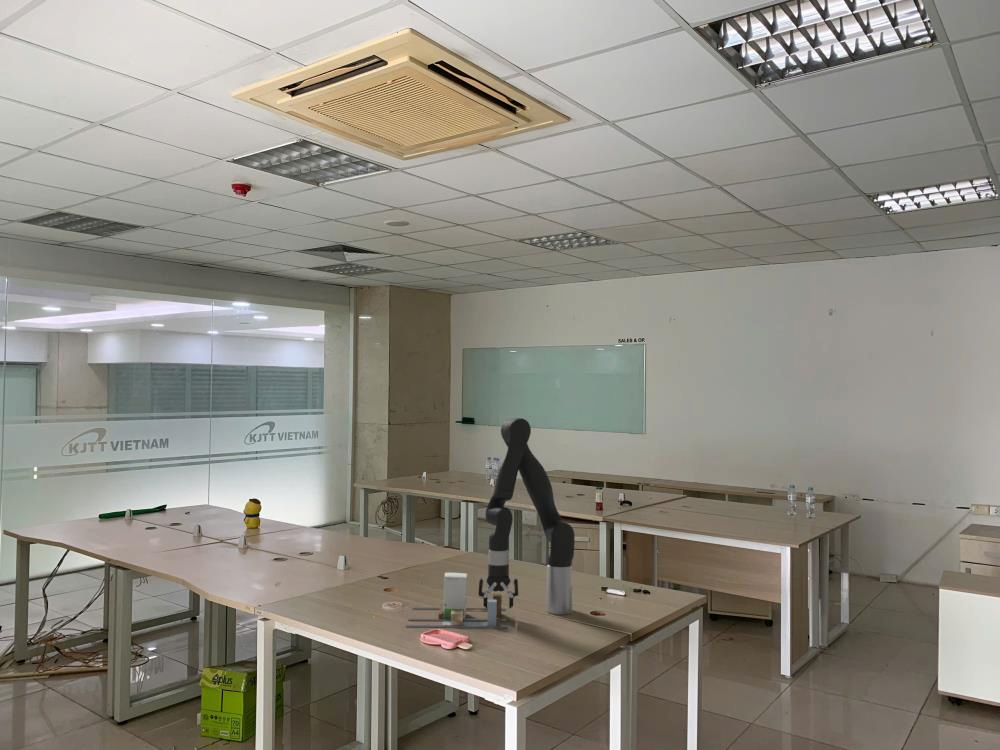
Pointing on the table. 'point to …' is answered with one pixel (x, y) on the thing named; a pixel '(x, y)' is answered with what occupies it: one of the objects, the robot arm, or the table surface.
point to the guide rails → (450, 620)
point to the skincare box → (454, 593)
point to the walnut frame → (498, 614)
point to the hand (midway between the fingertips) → (498, 607)
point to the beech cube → (457, 617)
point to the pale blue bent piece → (491, 616)
